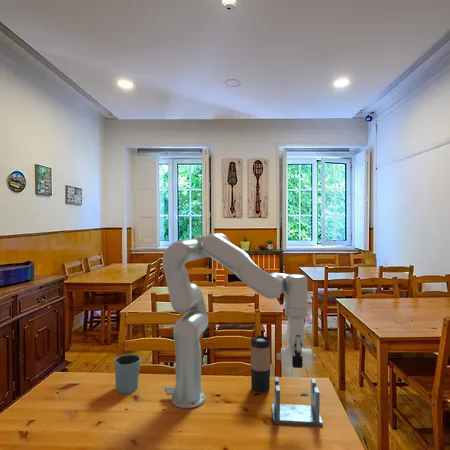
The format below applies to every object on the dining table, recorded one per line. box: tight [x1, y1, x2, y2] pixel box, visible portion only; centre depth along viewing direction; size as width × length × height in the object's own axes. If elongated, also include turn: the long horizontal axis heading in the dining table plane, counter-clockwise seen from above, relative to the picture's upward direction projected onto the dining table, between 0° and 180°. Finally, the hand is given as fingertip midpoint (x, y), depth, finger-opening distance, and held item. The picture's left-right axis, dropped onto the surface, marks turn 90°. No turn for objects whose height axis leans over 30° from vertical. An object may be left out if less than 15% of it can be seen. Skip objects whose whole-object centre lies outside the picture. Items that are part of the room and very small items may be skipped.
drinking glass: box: [113, 353, 141, 395], centre depth 135 cm, size 10×10×12 cm
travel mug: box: [250, 335, 271, 394], centre depth 135 cm, size 8×8×20 cm
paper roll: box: [276, 347, 318, 367], centre depth 116 cm, size 13×6×6 cm, turn 84°
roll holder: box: [271, 376, 323, 427], centre depth 116 cm, size 16×10×11 cm, turn 84°
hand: (296, 363), depth 116 cm, fingers closed on paper roll, 5 cm apart
